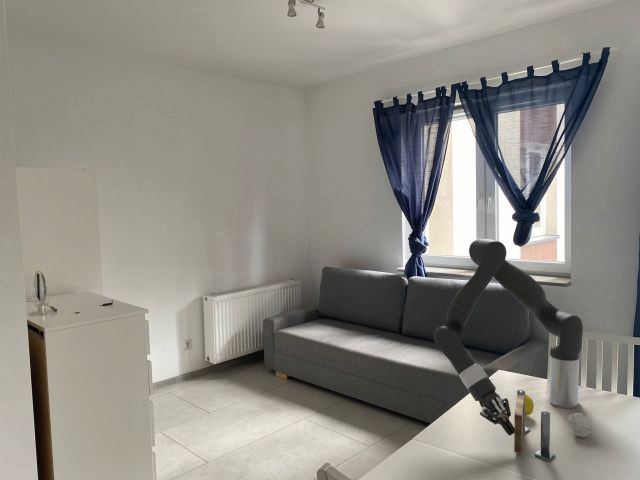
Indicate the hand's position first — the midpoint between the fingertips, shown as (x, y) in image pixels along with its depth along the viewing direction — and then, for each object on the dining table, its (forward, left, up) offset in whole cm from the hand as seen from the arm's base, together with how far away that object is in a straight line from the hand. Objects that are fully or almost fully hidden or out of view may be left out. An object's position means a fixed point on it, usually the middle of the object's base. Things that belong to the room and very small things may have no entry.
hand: (512, 433), depth 142 cm
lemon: (-23, -9, -5) cm, 25 cm away
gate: (-5, 0, -4) cm, 6 cm away
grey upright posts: (-8, +2, -5) cm, 10 cm away
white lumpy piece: (-23, +10, -5) cm, 26 cm away
